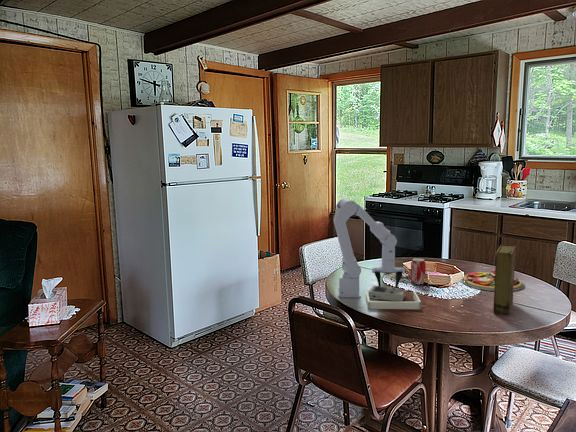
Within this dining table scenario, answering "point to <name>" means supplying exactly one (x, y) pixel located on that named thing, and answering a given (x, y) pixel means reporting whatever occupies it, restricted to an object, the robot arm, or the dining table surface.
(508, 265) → the book
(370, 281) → the dining table surface
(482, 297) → the dining table surface
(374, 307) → the white tray
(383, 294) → the handheld gaming device
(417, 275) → the soda can
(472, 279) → the toy pizza
